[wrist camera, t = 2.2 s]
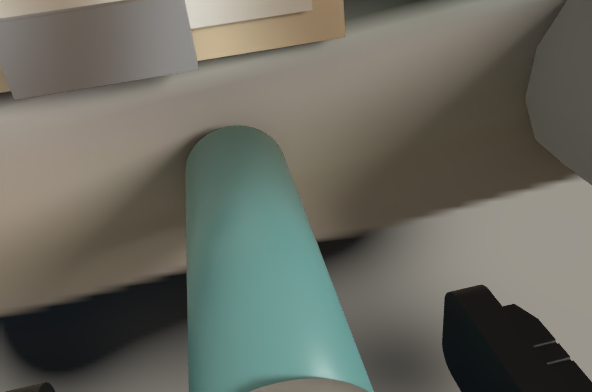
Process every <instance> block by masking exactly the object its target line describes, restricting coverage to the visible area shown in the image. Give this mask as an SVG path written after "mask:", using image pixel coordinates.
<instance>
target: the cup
mask: <svg viewBox="0 0 592 392" xmlns="http://www.w3.org/2000/svg"><path fill="white" fill-rule="evenodd" d="M525 101H526V105H527V109H528V113H529V117H530V121H531V125H532V129H533V133H534V137H535V140H536V141H537V142H538V143H540V144H541V145H542V146H543V147H544V148H545V149H546V150H548V151H549V152H550V153H551V154H552V155H553V156H554V157H556V158H557V159H558V160H559V161H560V162H561V163H562V164H564V165H565V166H567V167H568V168H569V169H571V170H572V171H573V172H575V173H576V174H577V175H579V176H580V177H582V178H583V179H584V180H586V181H587V182H589V183H590V184H591V185H592V0H567V1H566V2H565V4H564V6H563V7H562V9H561V10H560V12H559V13H558V15H557V16H556V18H555V20H554V21H553V23H552V24H551V26H550V27H549V29H548V30H547V32H546V34H545V35H544V37H543V38H542V40H541V41H540V43H539V44H538V46H537V48H536V52H535V57H534V61H533V66H532V70H531V75H530V79H529V84H528V88H527V93H526V97H525Z"/></svg>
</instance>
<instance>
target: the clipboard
mask: <svg viewBox="0 0 592 392" xmlns="http://www.w3.org/2000/svg"><path fill="white" fill-rule="evenodd" d="M343 37H345V21H344V3H343V0H0V93H2V92H8V91H11V93H12V95H13V98H14V100H18V99H24V98H30V97H36V96H42V95H48V94H55V93H61V92H67V91H73V90H79V89H85V88H91V87H97V86H104V85H110V84H116V83H122V82H128V81H134V80H140V79H147V78H153V77H159V76H165V75H171V74H177V73H183V72H189V71H196V70H199V69H198V61H200V60H207V59H213V58H219V57H225V56H231V55H238V54H244V53H250V52H256V51H262V50H269V49H275V48H281V47H287V46H293V45H300V44H306V43H312V42H318V41H324V40H331V39H337V38H343Z"/></svg>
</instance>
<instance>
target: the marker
mask: <svg viewBox="0 0 592 392" xmlns="http://www.w3.org/2000/svg"><path fill="white" fill-rule="evenodd" d="M185 190H186V248H187V302H188V303H187V305H188V366H189V392H374V391H373V388H372V386H371V383H370V381H369V378H368V375H367V373H366V370H365V367H364V365H363V362H362V360H361V357H360V354H359V352H358V349H357V346H356V344H355V341H354V339H353V336H352V333H351V331H350V328H349V326H348V323H347V320H346V318H345V315H344V313H343V310H342V307H341V305H340V302H339V299H338V297H337V294H336V292H335V289H334V287H333V284H332V281H331V278H330V276H329V273H328V271H327V268H326V265H325V263H324V260H323V258H322V255H321V252H320V250H319V247H318V244H317V242H316V239H315V237H314V234H313V231H312V229H311V226H310V223H309V221H308V218H307V216H306V213H305V210H304V208H303V205H302V202H301V200H300V197H299V195H298V192H297V189H296V187H295V184H294V182H293V179H292V176H291V174H290V171H289V168H288V166H287V163H286V161H285V158H284V155H283V153H282V151H281V149H280V147H279V146H278V144H277V143H276V142H275V141H274V140H273V139H272V138H271V137H270V136H268V135H267V134H266V133H264V132H262V131H260V130H257V129H255V128H251V127H247V126H228V127H224V128H220V129H217V130H215V131H213V132H211V133H209V134H207V135H206V136H204V137H203V138H202V139H201V140H200V141H198V142H197V144H196V145H195V146H194V147H193V149H192V150H191V152H190V154H189V156H188V159H187V162H186V167H185Z"/></svg>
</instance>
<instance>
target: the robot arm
mask: <svg viewBox="0 0 592 392" xmlns="http://www.w3.org/2000/svg"><path fill="white" fill-rule="evenodd" d="M442 347H443V353H444V357H445V360H446V364H447V366H448V369H449V370H450V372H451V374H452V376H453V378H454V380H455V381H456V383H457V385H458V387H459V388H460V390H461V392H592V382H591V381H590V380H589V378H588V377H587V376H586V375H585V374H584V373H583V371H582V370H581V369H580V368H579V367H578V365H577V364H576V363H575V362H574V361H571V360H570V356H569V355H568V354H567V352H566V351H565V350H564V349H563V348H562V347H561V345H560V344H557V343H556V341H555V338H554V337H553V336H552V335H551V334H550V332H549V331H548V330H547V329H546V328H545V327H544V325H543V324H542V323H541V322H540V321H539V319H537V318H536V317H534V316H533V315H531V314H529V313H528V312H526V311H525V310H523V309H522V308H520V307H518V306H517V305H515V304H512V305H507V306H503V307H502V306H501V304H500V303H499V302H498V301H497V299H496V298H495V297H494V296H493V294H492V293H491V292H490V290H489V289H488V288H487V287H486V286H484V285H478V286H474V287H469V288H465V289H460V290H456V291H452V292H448V293H447V294H446V295H445V302H444V320H443V338H442ZM6 392H55V391H54V389H53V387H52V386H51V384H49V383H47V382H46V383H41V384H37V385H32V386H28V387H24V388H19V389H15V390H10V391H6Z"/></svg>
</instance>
